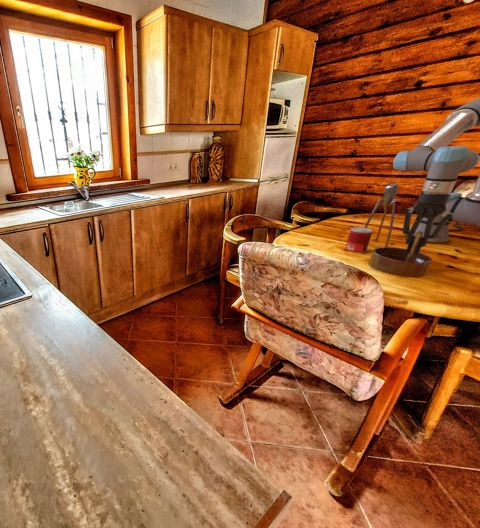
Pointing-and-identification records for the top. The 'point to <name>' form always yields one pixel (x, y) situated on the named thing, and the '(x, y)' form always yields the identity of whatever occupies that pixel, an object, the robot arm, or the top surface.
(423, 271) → the bowl
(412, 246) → the wooden spoon
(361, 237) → the canned food
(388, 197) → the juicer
